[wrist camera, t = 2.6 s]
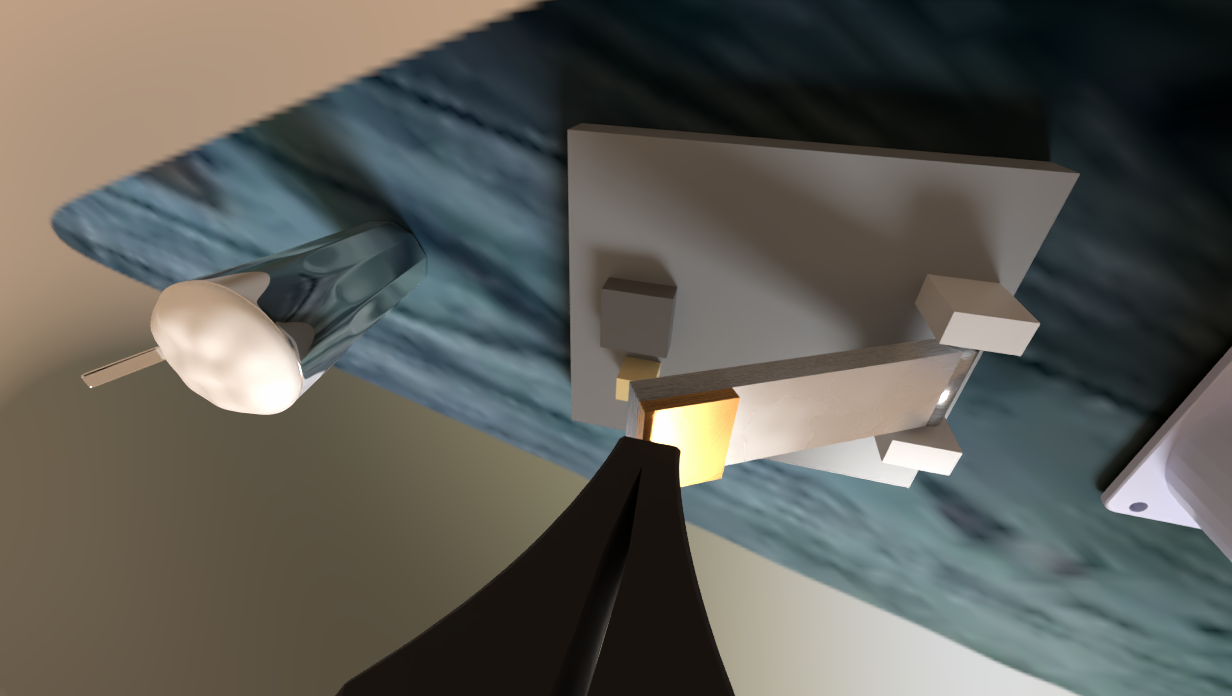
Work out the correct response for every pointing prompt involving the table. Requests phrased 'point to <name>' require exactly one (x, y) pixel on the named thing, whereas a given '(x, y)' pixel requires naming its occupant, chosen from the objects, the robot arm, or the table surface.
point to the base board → (793, 265)
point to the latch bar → (795, 403)
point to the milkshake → (278, 317)
